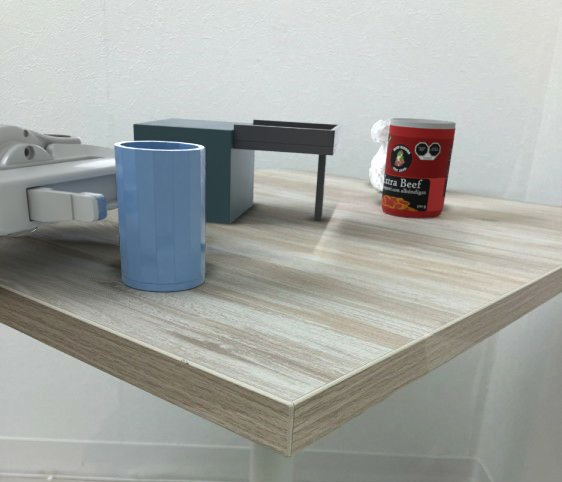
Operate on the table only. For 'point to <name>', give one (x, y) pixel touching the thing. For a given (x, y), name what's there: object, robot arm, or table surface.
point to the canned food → (417, 167)
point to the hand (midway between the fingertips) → (140, 199)
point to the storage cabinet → (243, 155)
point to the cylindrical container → (161, 214)
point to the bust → (379, 153)
